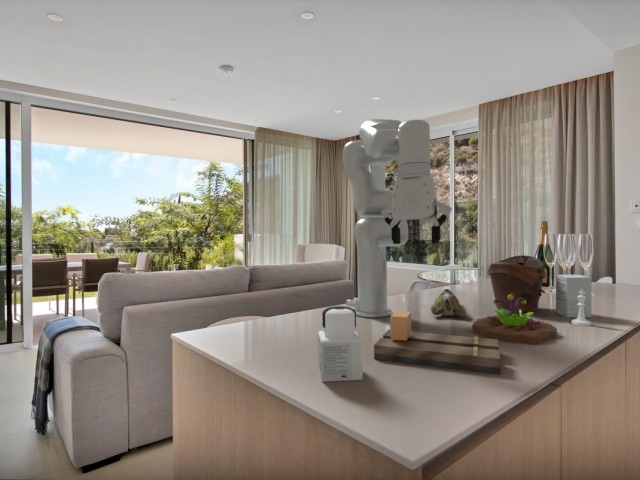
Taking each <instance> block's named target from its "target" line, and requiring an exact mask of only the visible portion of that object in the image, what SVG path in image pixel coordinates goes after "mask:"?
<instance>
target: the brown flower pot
mask: <svg viewBox="0 0 640 480" xmlns="http://www.w3.org/2000/svg"><path fill="white" fill-rule="evenodd" d="M486 274H487V275H488V276H489V278H490V282H491V286H492V291H493V295H494V296H493V297H494V300H495V299H501V300H504V301H505V302H507V303H508V304H509V305H510V306H511V302H512V301H511V300H509V299H508V295H509V294H511V293H513V294H514V296H515V303H516V301H517V299H518V298H520V297H522V298H523V299H525V300H526V304H522V302H521V300H520V301H519V309H521V313H528V312H536V311H537V310H538V308H539V304H540V303H539V301H540V298H541V297H542V293H543V294H546V291H545V290H544V289H542V288H543V282H544V279H546V277H547V274H546V269H545V264H544V262H543V261H542V260H541V259H539V258H538V257H534V256H532V255H531V256H530V255H515V256H514V255H513V256H510V257H507V258H505V259H502V260H500V261H497V262H492V263H490V265H489V266H488V270H487V273H486ZM495 306H496V308H497V310H499V311H502V310H501V309H502V308H503V309H505V310H507V311H509V310H508V307H507V306H506V305H505V304H504V303H503V302H501V301H498V304H496V305H495Z"/></svg>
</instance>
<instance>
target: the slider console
mask: <svg viewBox="0 0 640 480" xmlns="http://www.w3.org/2000/svg"><path fill="white" fill-rule="evenodd" d="M500 352H501V351H500V344H499V340H497V339H491V338H487V337H479V336H462V335H455V334H453V335H451V334H443V333H434V332H433V333H432V332H430V333H429V332H421V331H420V332H419V331H411V335H410V337H409V338H408V339H407V341H404V340H394V339H390V329H387V331H385V333H384V334H383V335H382V338H381V337H380V338H379V339H378V340H377V341H376V342H375V343H374V345H373V358H374V359H375V360H384V361H390V362H399V363H406V364H413V365H414V364H415V365H423V366H430V367H437V368H438V367H439V368H445V369H446V368H448V369H455V370H461V371H462V370H463V371H470V372H477V373H478V372H479V373H486V374H495V375H501V354H500Z"/></svg>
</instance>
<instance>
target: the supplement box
mask: <svg viewBox="0 0 640 480" xmlns="http://www.w3.org/2000/svg"><path fill="white" fill-rule="evenodd" d="M592 280H593V279H592V277H591V276H587V275H583V274H555V313H556V314H558V315H561V316H563V317H565V318H577V317H578V314H579V307H580V306H579V305H577V304H578V303H580V302H579V299H578V297H577V296H579V295H580V293H578V291H580V290H581V289H582V290H583V292H585V294H583V296H585V297H586V298H585V300H584V304H586V306H583V307H584V315H585V318H592V288H593V287H592V286H593V285H592Z"/></svg>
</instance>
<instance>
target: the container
mask: <svg viewBox="0 0 640 480" xmlns="http://www.w3.org/2000/svg"><path fill="white" fill-rule="evenodd" d="M354 309H355V308H352V307H350V306H339V305H337V306H329V307H326V308H325V309H324V310H322V315H321V316H322V317H321V318H322V330H319V331H318V332H317V335H318V338H317V342H318V344H317V345H318V370H319V374H320V378H321V379H320V380H321V381H322V382H323V383H325V382H348V381H350V382H351V381H363V377H364V376H363V339H362V338H361V336H360V335H359V334H358V331H357V315H356V311H355V310H354Z"/></svg>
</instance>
